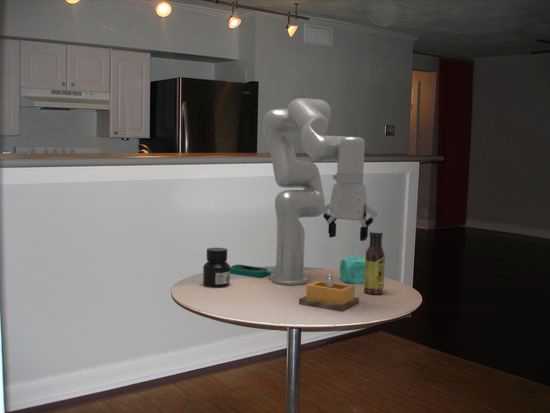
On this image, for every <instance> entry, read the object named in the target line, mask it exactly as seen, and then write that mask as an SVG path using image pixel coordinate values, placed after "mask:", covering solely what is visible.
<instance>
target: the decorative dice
mask: <svg viewBox="0 0 550 413" xmlns="http://www.w3.org/2000/svg"><path fill="white" fill-rule="evenodd" d="M365 260H366V258H364V257H358V256H346V257H343V258H342V259H341V261H340V264H339V275H340V279H341V281H342V282H344V283H347V284H352V283H353V285H355V284H357V285H359V284H364V275H365Z"/></svg>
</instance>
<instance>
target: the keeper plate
mask: <svg viewBox="0 0 550 413" xmlns="http://www.w3.org/2000/svg"><path fill="white" fill-rule="evenodd" d="M325 282H326V287H329V288H333V283H334V275H333V273H328V274H327V275H326V280H325ZM359 300H360V297H355V296H354V299H353V300H351V301H349V302H348V303H346V304H344V305H342V304H336V303H330V302H324V301H318V300H312V299H306V295H305V296H303V297H301V298H299V299H298V305H302V306H308V307H313V308H314V307H315V308H319V309H326V310H331V311H335V312H342V313H343V312H344V311H346V310H348V309H350V308H351V307H353V306H355V305H357V304H359V302H360V301H359Z"/></svg>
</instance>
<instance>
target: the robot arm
mask: <svg viewBox="0 0 550 413" xmlns="http://www.w3.org/2000/svg"><path fill="white" fill-rule="evenodd" d="M331 116H332V109H331V107H330V105H329V103H328V101H325V100H323V99H320V98H316V99H315V98H306V97H304V98H303V97H300V98H299V97H298V98H295V99H293V100H292V101H290V103H289V104H288V105H287V108H275V109H271V110H269V111H267V112H266V114H265V115H264V118H263V123H262V129H263V135H264V139H265V141H266V144H267V146H268V149H269V152H270V157H271V163H272V169H273V175H274V179H275V183H276V184H277V186H278V187H280V188H286V189H285V190H282V191H280V192H278V193H277V195H276V196H275V198H274V208H275V216H276V256H275V257H276V259H275V260H276V264H275V266H274V267H273V266H268V267H266V268H267V273H271V274H272V276H271V278H270V279H271V282H273V283H275V284H277V285H286V286H287V285H288V286H296V285H297V286H298V285H304V284H306V283H308V281H309V279H308V277H307V276H304V273H305V272H304V269H305V268H304V266H305V240H306V239H305V238H306V237H305V228H304V226H303V224H302V223H301V221H300V219H301V218H318V217H320V216H322V215H323V216H322V217H323V218H324V219H325V221H326V223H327V224H328V234H329V235H328V237H329V238H335V237H336V236H337V223H336V220H338V219H339V220H347V221H358V222H359V224H360V225H361V227H360V228H359V229H360V230H359V232H360V233H359V241H360V242H361V241H362V242H363V241H366V240H367V239H368V237H369V236H368V234H369V226H371V225H372V223H373V222H375V220H376V218H377V216H378V212H377V211H376V210H375V209H373V208H371V207H370V206H369V205H368V201H367V191H366V185H364V169H365V168H364V167H365V166H364V165H365V145H366V143H365V140H364V138H362V137H360V136H344V135H342V136H341V135H325V134H326V133H327V130H328V127H329V121H330V118H331ZM285 134H286V135H287V134H289V135H292V134H293V135H300V143H301V144H300V145H301V148H302V149H303V151H304V152H305V153H306V154H307V155H308V156H309V157H310V158H311V159H312V160H314V161H318V162H337V169H336V170H337V171H336V174H334V175H332V179H333V180H335V182H336V183H334V184H333V187H332V190H331V194H330V195H331V197H330V203H329V204H327V205H326V204H325V202H326V201H325V195H324V191H323V185H322V180H321V173H320V170H319V168H318V166H317V164H316V163H314V162H313V161H310V160H299V159H297V154H296V151H295V150H296V149H295V147H294V145H293V144H292V142H291V140H290V139H289V138H288V137H286V135H285ZM368 214H369V215H370V216H369V218H368V219H367V215H368Z"/></svg>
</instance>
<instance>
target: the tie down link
mask: <svg viewBox="0 0 550 413" xmlns="http://www.w3.org/2000/svg"><path fill="white" fill-rule="evenodd" d="M355 289H356V286H355V285H350V284H344V283H337V282H333V288H329V287H326V280H325V281H324V280H317V281H314V282H312V283H309V284H306V293H305V294H306V295H305V296H306V299H312V300H318V301H324V302H330V303H336V304H342V305H344V304H346V303H348V302H349V301H351V300H353V299H354V297H355Z"/></svg>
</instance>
